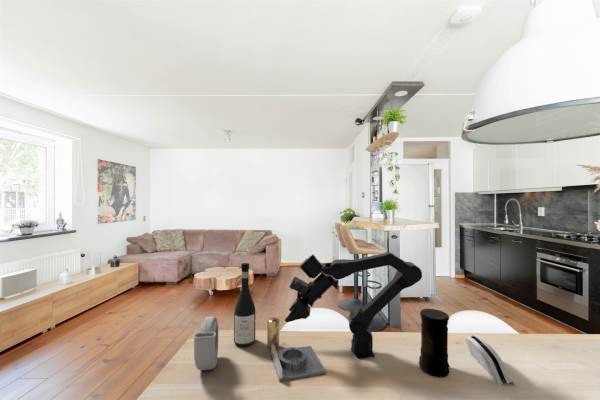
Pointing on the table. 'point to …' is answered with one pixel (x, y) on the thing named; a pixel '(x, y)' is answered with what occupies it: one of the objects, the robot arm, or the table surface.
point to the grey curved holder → (206, 344)
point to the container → (434, 343)
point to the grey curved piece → (488, 359)
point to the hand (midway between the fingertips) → (287, 315)
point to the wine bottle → (244, 313)
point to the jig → (296, 362)
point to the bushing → (273, 332)
